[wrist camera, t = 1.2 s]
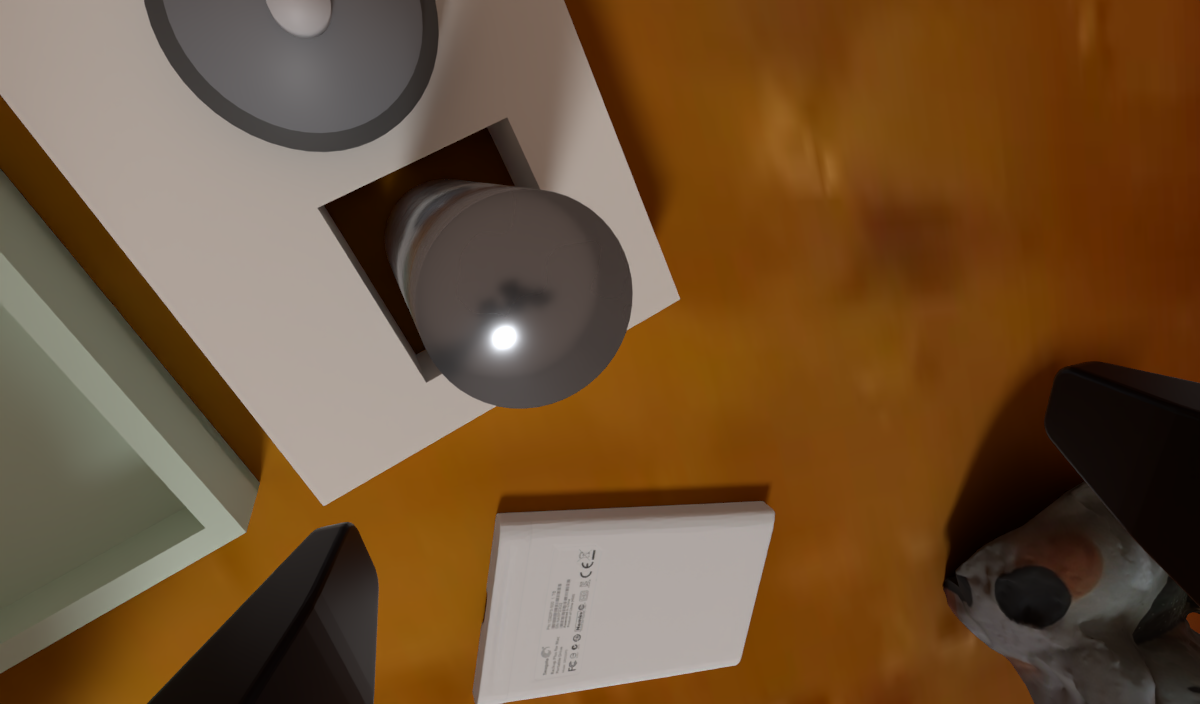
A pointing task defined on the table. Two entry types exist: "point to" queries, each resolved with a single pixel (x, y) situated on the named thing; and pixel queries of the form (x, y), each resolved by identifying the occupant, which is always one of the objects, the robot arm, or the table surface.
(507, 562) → the external hard drive
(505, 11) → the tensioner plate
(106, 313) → the tray
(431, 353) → the pin
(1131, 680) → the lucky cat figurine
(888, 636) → the table surface
